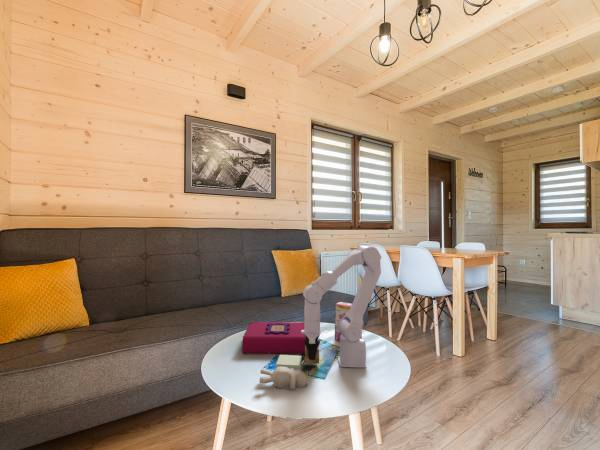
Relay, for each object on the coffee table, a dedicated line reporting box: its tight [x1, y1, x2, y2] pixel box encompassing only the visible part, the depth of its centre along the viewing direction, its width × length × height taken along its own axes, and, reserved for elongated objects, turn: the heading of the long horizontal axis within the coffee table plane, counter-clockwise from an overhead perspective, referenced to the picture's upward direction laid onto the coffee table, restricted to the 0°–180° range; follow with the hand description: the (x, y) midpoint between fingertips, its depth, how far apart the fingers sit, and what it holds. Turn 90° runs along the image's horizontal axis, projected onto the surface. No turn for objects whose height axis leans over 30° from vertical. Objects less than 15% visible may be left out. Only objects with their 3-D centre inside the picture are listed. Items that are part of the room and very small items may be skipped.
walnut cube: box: [304, 345, 320, 365], centre depth 113 cm, size 5×5×5 cm
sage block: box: [275, 354, 302, 370], centre depth 110 cm, size 8×8×4 cm
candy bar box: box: [334, 301, 363, 342], centre depth 137 cm, size 11×5×16 cm, turn 58°
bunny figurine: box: [259, 366, 309, 390], centre depth 99 cm, size 10×5×15 cm
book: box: [241, 321, 306, 355], centre depth 133 cm, size 21×28×8 cm
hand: (312, 356), depth 113 cm, fingers closed on walnut cube, 5 cm apart
